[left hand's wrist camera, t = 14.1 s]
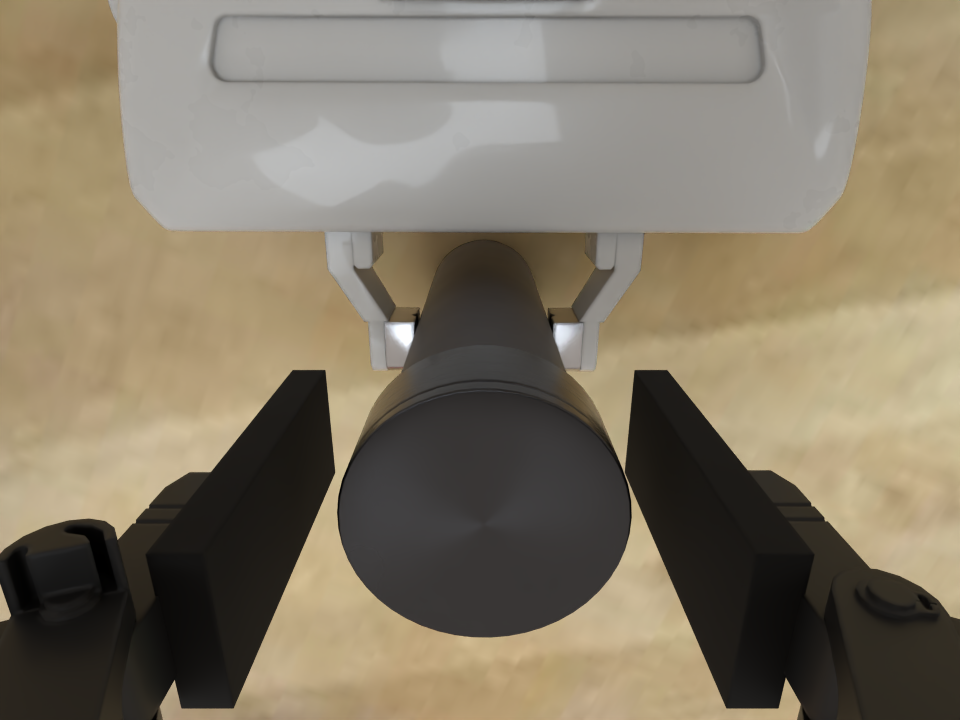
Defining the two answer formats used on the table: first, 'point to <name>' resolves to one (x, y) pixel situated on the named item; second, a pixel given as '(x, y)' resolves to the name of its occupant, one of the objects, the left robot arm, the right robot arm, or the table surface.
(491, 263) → the dark grey cylinder
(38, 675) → the left robot arm
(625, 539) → the lid
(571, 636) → the table surface
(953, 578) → the table surface
